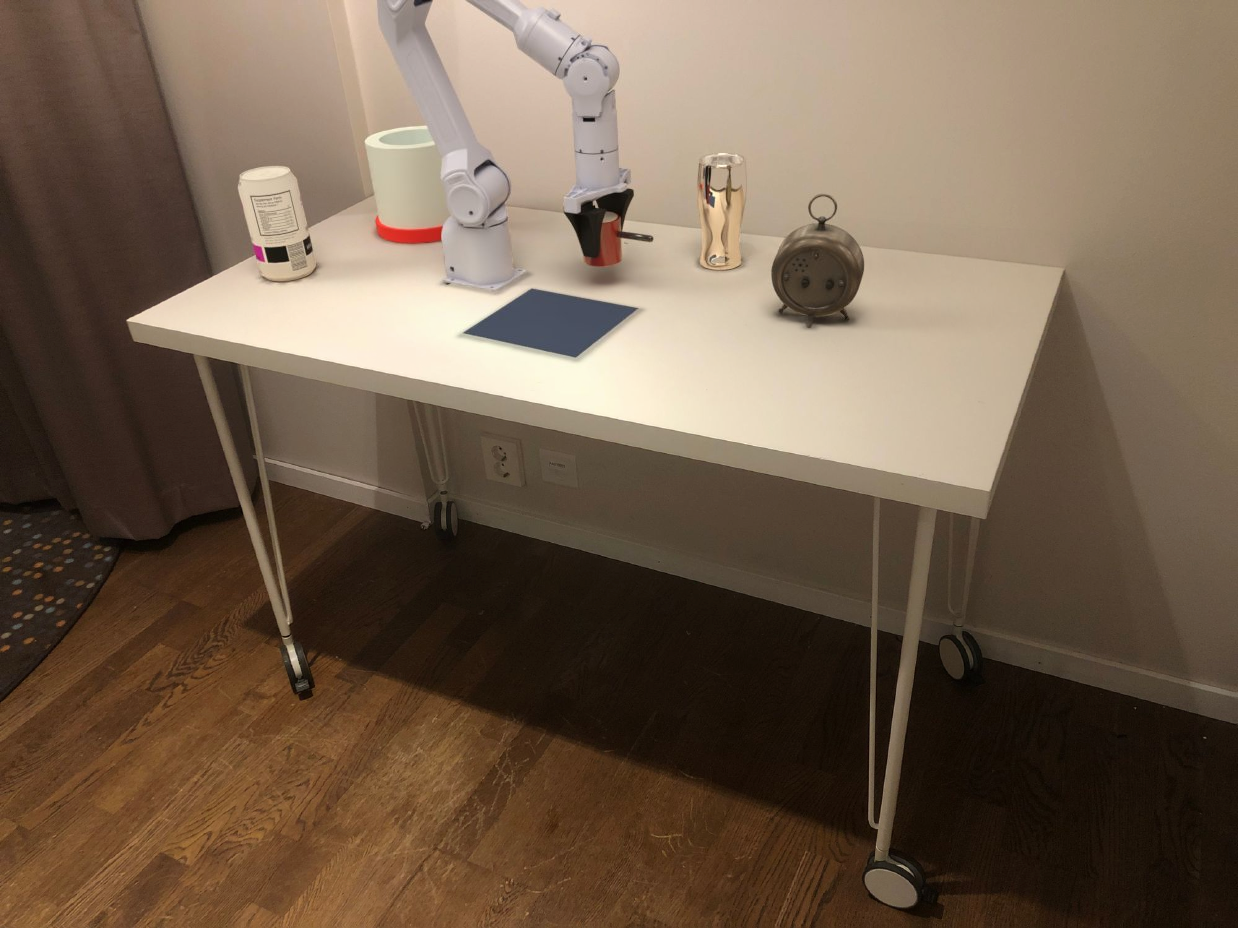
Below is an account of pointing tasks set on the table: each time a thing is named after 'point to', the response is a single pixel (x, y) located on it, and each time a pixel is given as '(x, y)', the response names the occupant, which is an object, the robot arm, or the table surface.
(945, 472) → the table surface
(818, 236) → the alarm clock
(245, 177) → the supplement can
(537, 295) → the cloth
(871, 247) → the table surface
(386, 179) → the container
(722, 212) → the beer glass
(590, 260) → the pot
